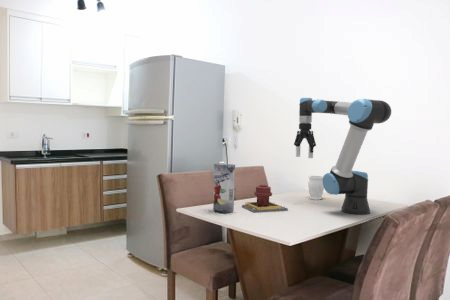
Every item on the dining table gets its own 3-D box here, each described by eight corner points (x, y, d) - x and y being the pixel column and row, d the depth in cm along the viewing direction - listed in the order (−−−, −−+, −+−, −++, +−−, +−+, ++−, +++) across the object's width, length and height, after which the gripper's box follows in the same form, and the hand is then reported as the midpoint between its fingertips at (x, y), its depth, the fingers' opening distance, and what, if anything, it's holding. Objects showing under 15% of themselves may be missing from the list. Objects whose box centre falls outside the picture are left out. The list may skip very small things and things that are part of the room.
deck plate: (287, 210, 207) (288, 205, 207) (254, 212, 199) (254, 207, 199) (273, 205, 222) (273, 200, 222) (241, 207, 214) (241, 202, 214)
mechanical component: (272, 205, 215) (270, 208, 205) (255, 204, 217) (252, 207, 207) (272, 184, 214) (271, 186, 204) (255, 183, 216) (253, 185, 206)
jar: (325, 200, 245) (326, 177, 244) (309, 199, 245) (310, 177, 244) (321, 197, 255) (322, 175, 255) (306, 197, 255) (307, 175, 255)
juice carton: (222, 209, 207) (223, 160, 206) (236, 212, 200) (237, 162, 199) (210, 211, 201) (211, 161, 200) (224, 214, 193) (225, 162, 192)
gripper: (289, 123, 239) (288, 156, 240) (312, 122, 216) (310, 158, 217) (299, 123, 242) (298, 156, 243) (322, 122, 219) (321, 158, 220)
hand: (304, 157), depth 230 cm, fingers open, 13 cm apart
